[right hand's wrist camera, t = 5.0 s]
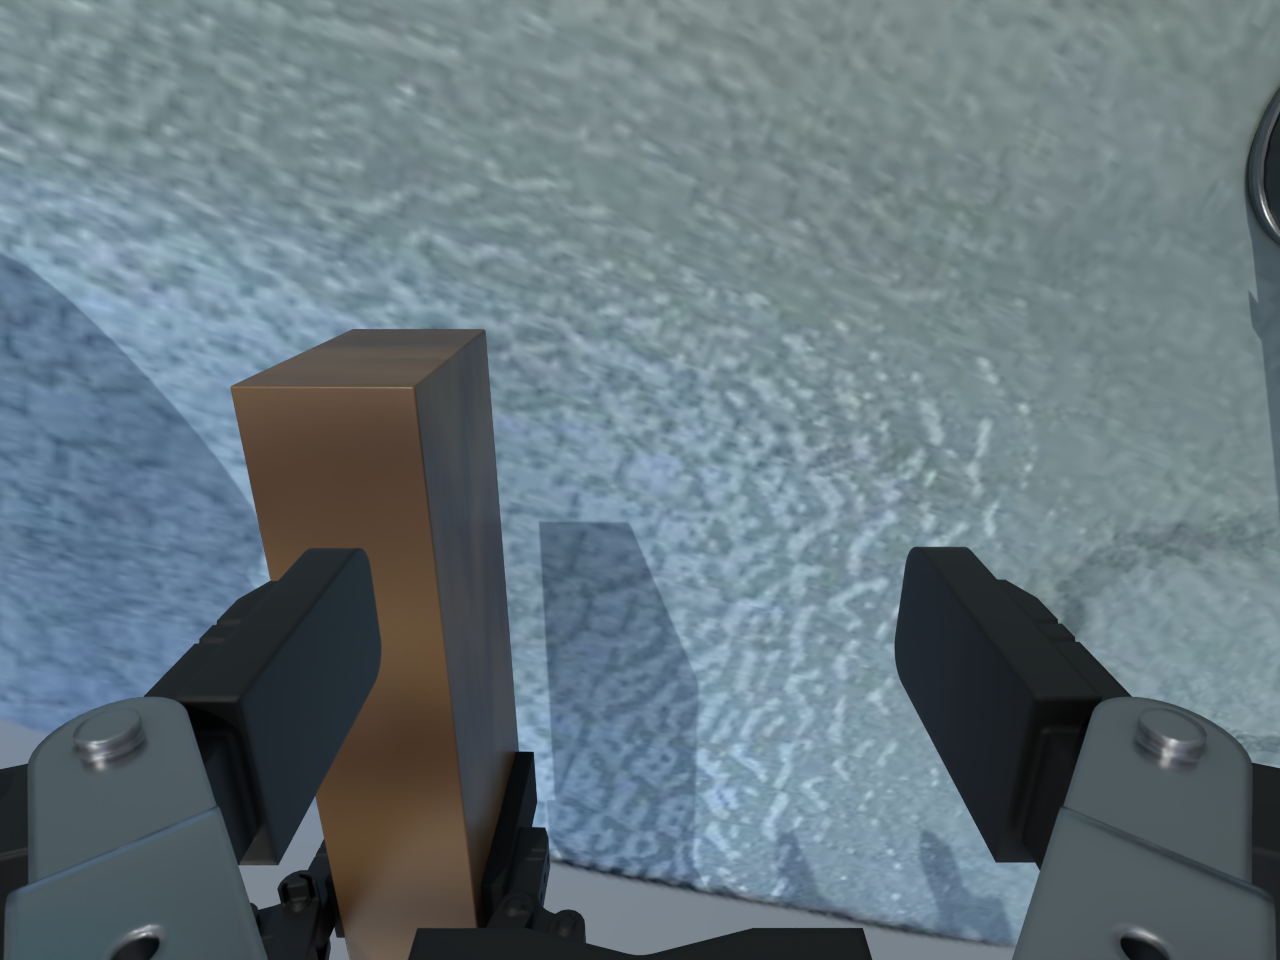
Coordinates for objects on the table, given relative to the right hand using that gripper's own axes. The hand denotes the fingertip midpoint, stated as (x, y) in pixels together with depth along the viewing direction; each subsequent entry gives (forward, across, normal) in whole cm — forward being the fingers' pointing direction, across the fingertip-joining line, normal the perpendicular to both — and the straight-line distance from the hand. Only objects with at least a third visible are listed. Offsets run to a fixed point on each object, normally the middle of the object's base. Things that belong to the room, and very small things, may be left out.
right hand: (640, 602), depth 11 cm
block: (+16, -8, -10) cm, 20 cm away
